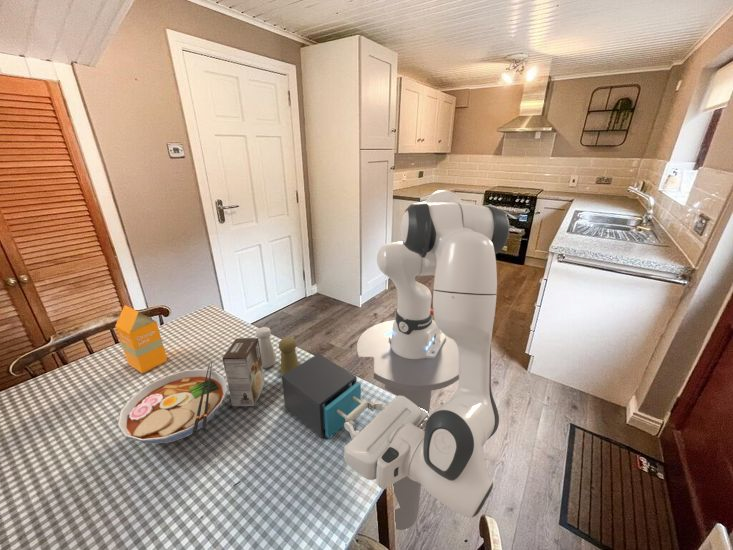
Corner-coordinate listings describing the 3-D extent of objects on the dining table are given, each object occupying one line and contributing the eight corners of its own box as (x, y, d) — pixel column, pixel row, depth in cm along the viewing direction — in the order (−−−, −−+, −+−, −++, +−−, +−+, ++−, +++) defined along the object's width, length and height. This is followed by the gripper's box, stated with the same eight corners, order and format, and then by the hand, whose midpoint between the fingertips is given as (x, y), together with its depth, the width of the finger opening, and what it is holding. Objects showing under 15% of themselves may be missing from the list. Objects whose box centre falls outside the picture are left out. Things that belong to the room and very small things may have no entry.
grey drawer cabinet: (356, 407, 81) (356, 376, 78) (321, 438, 72) (319, 404, 69) (320, 383, 90) (318, 353, 86) (285, 407, 81) (281, 376, 77)
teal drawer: (374, 419, 77) (375, 392, 73) (342, 450, 69) (341, 421, 65) (325, 386, 88) (324, 361, 84) (293, 409, 79) (290, 383, 76)
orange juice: (142, 373, 93) (123, 316, 86) (127, 364, 97) (108, 309, 90) (168, 360, 100) (152, 306, 92) (153, 351, 104) (138, 299, 96)
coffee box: (244, 383, 90) (236, 337, 84) (265, 383, 90) (259, 337, 84) (231, 407, 81) (221, 357, 75) (255, 407, 81) (247, 357, 75)
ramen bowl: (145, 397, 84) (137, 374, 81) (234, 379, 91) (229, 357, 88) (107, 483, 62) (94, 455, 59) (228, 451, 69) (222, 424, 66)
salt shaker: (255, 369, 96) (249, 334, 91) (261, 358, 101) (256, 324, 96) (273, 369, 95) (269, 334, 91) (279, 358, 101) (275, 324, 96)
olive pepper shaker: (277, 375, 93) (273, 345, 89) (285, 362, 99) (281, 334, 95) (295, 377, 92) (292, 347, 88) (302, 364, 98) (300, 335, 94)
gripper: (434, 406, 68) (385, 379, 77) (378, 473, 54) (325, 430, 62) (431, 427, 71) (384, 398, 79) (377, 496, 56) (326, 452, 64)
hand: (358, 412), depth 70 cm, fingers closed on teal drawer, 6 cm apart
